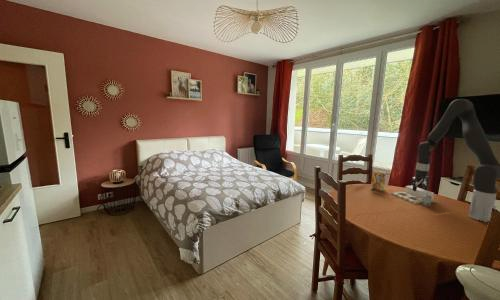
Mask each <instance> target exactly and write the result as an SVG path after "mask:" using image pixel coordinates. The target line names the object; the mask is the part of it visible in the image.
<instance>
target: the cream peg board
mask: <svg viewBox="0 0 500 300" xmlns="http://www.w3.org/2000/svg"><path fill="white" fill-rule="evenodd" d="M390 194H391V195H392V196H393V197H396V198H398V199H402V200H404V201H405V202H408V203H411V204H413V205H417V204H423V199H421V198H418V197H415V196H413V195H410V194H407V193H405V191H395V192H393V191H392V192H391V193H390Z"/></svg>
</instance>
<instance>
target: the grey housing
mask: <svg viewBox="0 0 500 300" xmlns="http://www.w3.org/2000/svg"><path fill="white" fill-rule="evenodd" d="M421 188H422V187H418V186H417V189H416V191H413V185H405V189H404V192H405V193H407V194H410V195H413V196H415V197H418V198H421V199H423V198H424V195H430V196H432V198H431V201H434V200H433V199H434V197H435V196H434V195H435V192H432V191H429V190H427V189H425V190H424V189H421Z"/></svg>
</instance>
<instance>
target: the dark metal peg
mask: <svg viewBox="0 0 500 300" xmlns="http://www.w3.org/2000/svg"><path fill="white" fill-rule="evenodd" d="M431 198H432V196H430V195H424V198H423V203H422V206H423V207H426V208H430V207H431Z"/></svg>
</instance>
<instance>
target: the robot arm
mask: <svg viewBox="0 0 500 300" xmlns="http://www.w3.org/2000/svg"><path fill="white" fill-rule="evenodd" d="M457 117H458V118H459V119H460V121H461V124H462V136H463V139H464V142H465V144H466V145H467V147H468V148H469V150H471V152H472V153H473V155H475V156H476V157H477V159H478V161H479V165H478V166H477V167H476V168H475V170H474V174H473V180H472V181H473V182H472V184H473V190H472V194H471V195H472V196H471V200H470V202H471V203H470V206H469V211H468V217H470V218H471V219H474V220H476V221H479V220H480V221H481V222H483V223H490V222H489V220H490V217H491V212H492V208H494V209H495V210H496V208H497V205H495V203H496V197H497V195H498V194H497V193H498V188H497V187H496V183H497V180H500V161H498V158H496V156H495V153H494V151H493V149H492V147H491V145H490V144H491V143H489V139H488V137H487V135H486V133H485V131H484V129H483V127H482V124H481V123H480V121H479V118H478V117H477V114H476V109H475V107H474V104H473V102H472V101H470V100H469V99H464V98H458V99H454V100H453V101H451V102H450V104H449V105H448V107H447V109H446V110H445V111H444V114H443V115H442V117H441V119H440V120H439V121H438V123H437V124H436V126H435V127H434V128H433V129H432V130H431V131H430V132H429V134H428V136H427V139H426V141H424V142H420V143H419V145H418V146H417V156H418V157H417V162H416V165H415V172H414V175H415V176H412V177H411V181H410V186H413V191H416V189H417V187H418V185H420V184H422V185H421V187H420V188H421V189H424V190H426V187H427V185H429V184H430V178H431V177H430V176H429V171H430V164H431V156H430V152H432V151H433V150H435V148H436V147H437V145H438V143H439V141H440V140H442V139H443V137H444V136H445V135H446V133H448V131H449V128H450V127H451V125H452V123H453V121H454V120H455V119H457ZM480 221H479V222H480Z"/></svg>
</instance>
